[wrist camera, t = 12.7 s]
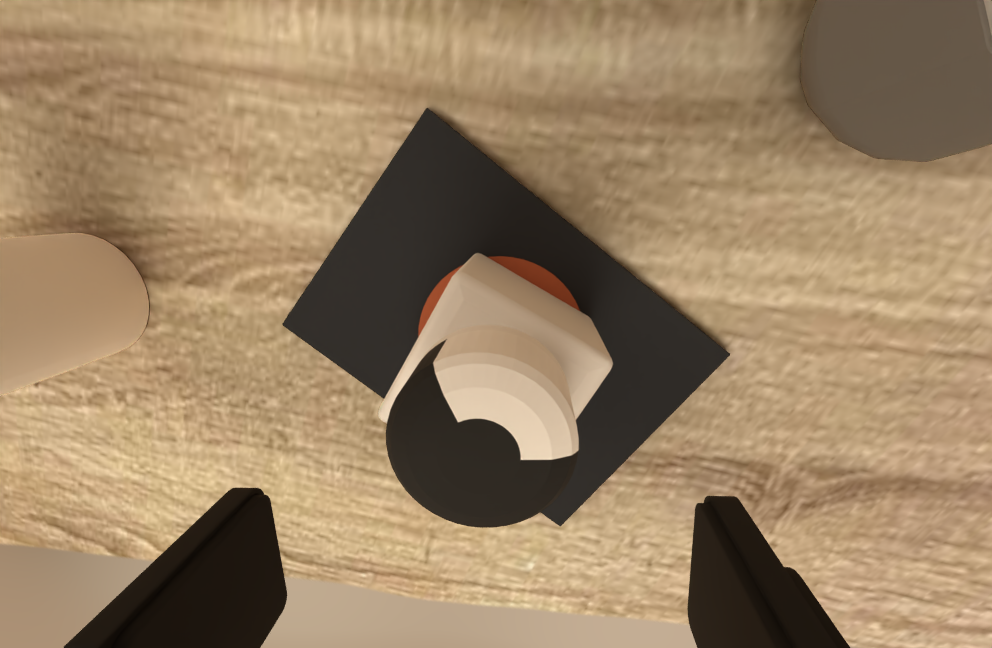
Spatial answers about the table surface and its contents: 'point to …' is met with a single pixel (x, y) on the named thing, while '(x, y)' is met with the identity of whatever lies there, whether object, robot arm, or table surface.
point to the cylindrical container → (64, 305)
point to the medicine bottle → (492, 398)
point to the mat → (521, 249)
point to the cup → (901, 75)
